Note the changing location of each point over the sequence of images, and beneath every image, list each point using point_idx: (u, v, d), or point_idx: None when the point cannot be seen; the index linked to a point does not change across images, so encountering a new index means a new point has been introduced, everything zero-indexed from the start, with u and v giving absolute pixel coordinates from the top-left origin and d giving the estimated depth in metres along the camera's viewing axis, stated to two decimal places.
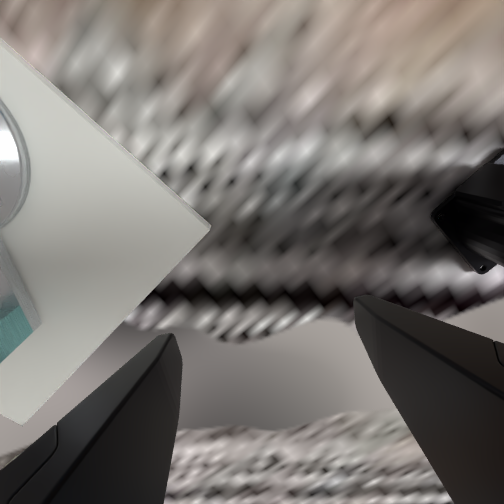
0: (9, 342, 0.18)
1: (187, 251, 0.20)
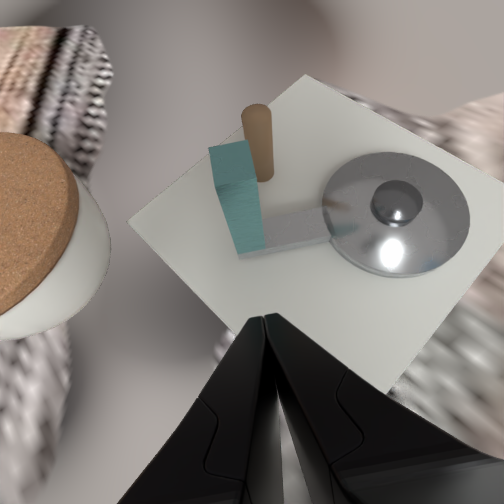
0: (242, 240, 0.20)
1: None
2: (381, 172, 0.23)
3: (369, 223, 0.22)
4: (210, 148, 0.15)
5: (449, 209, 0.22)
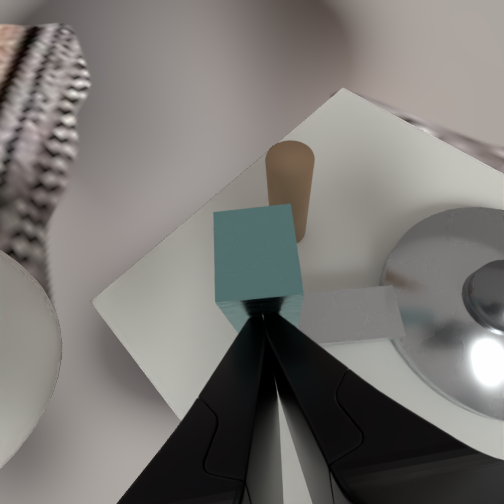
0: None
1: None
2: (479, 239, 0.15)
3: (460, 322, 0.14)
4: (217, 214, 0.08)
5: None
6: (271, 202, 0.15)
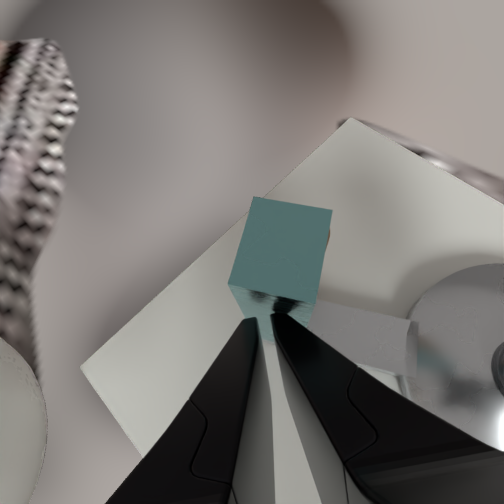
0: (265, 333, 0.13)
1: None
2: None
3: (479, 384, 0.13)
4: (256, 199, 0.08)
5: None
6: None
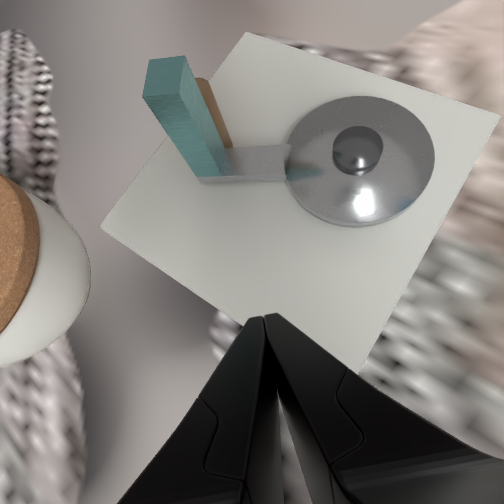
0: (194, 162, 0.22)
1: None
2: (357, 117, 0.22)
3: (325, 166, 0.22)
4: (150, 60, 0.17)
5: (412, 165, 0.21)
6: None
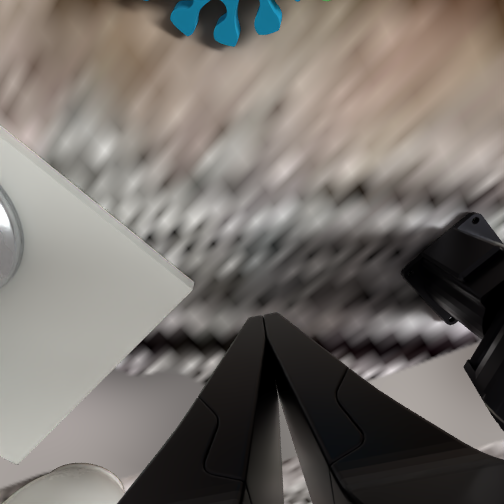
0: None
1: (171, 308, 0.22)
2: None
3: None
4: None
5: None
6: None
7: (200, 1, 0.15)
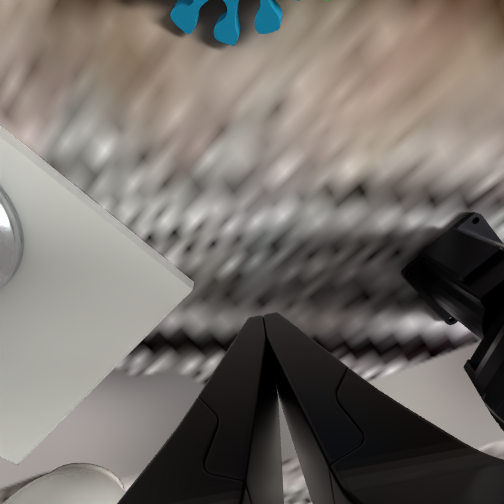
0: None
1: (171, 308, 0.22)
2: None
3: None
4: None
5: None
6: None
7: None
